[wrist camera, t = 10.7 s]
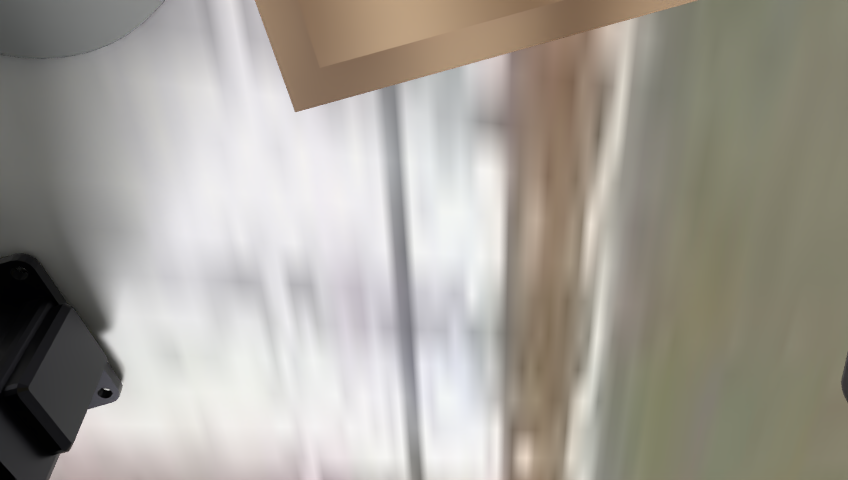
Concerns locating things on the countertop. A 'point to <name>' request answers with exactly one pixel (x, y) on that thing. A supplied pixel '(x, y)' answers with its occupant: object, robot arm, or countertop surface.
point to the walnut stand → (416, 37)
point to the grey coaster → (67, 25)
